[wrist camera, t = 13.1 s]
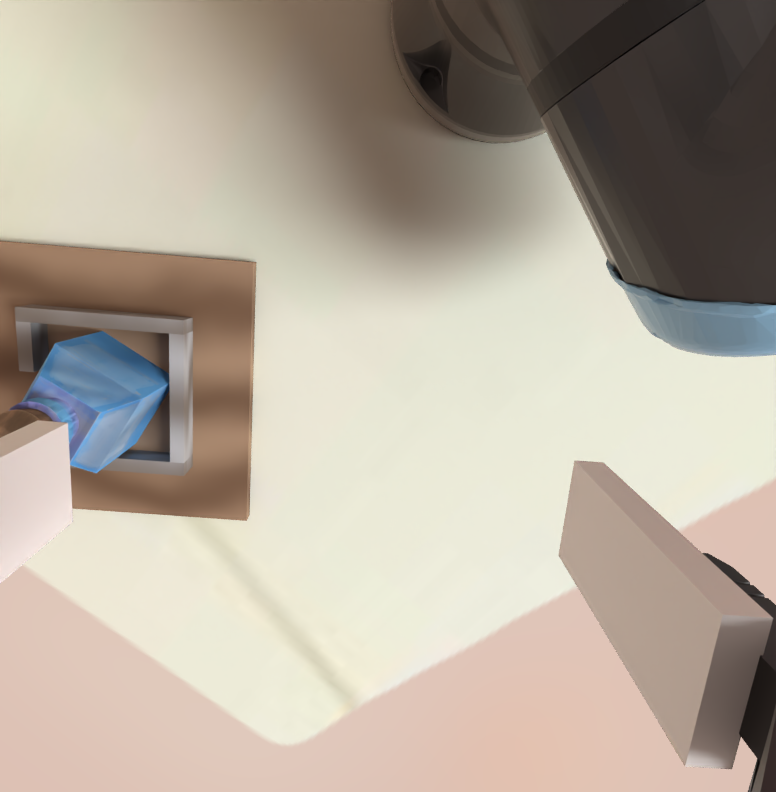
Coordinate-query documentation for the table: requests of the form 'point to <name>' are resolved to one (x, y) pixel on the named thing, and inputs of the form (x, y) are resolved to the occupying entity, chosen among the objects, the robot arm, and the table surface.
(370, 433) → the table surface
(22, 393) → the pocket board
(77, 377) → the perfume bottle
